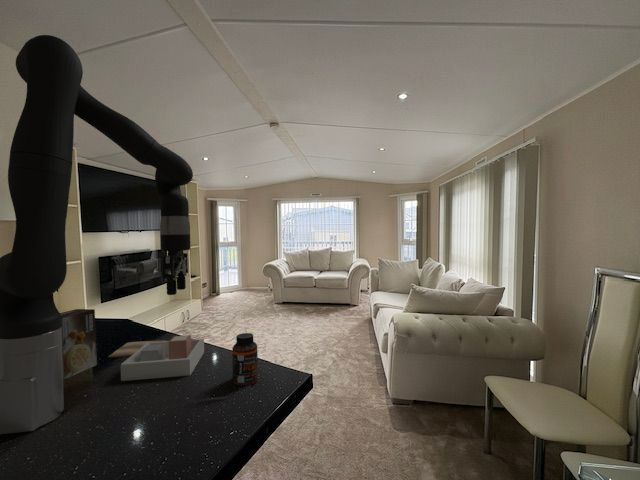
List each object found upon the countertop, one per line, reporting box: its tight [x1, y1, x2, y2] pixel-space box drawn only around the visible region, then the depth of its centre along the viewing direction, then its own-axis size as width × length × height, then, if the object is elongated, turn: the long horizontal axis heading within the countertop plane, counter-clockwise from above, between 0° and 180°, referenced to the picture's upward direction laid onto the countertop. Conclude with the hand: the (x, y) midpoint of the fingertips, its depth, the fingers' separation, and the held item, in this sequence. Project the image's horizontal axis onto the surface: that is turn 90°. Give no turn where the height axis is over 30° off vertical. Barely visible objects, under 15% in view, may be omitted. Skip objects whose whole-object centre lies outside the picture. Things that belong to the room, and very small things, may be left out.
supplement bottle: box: [231, 332, 259, 386], centre depth 74 cm, size 6×6×11 cm
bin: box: [120, 338, 205, 382], centre depth 84 cm, size 16×16×5 cm
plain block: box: [141, 344, 165, 362], centre depth 83 cm, size 4×4×5 cm
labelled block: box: [168, 334, 192, 359], centre depth 84 cm, size 4×4×7 cm
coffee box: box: [59, 308, 98, 380], centre depth 81 cm, size 9×6×16 cm
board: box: [107, 339, 167, 359], centre depth 97 cm, size 12×12×1 cm
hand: (176, 291), depth 85 cm, fingers open, 8 cm apart
